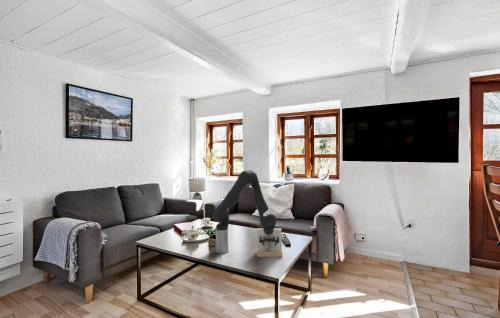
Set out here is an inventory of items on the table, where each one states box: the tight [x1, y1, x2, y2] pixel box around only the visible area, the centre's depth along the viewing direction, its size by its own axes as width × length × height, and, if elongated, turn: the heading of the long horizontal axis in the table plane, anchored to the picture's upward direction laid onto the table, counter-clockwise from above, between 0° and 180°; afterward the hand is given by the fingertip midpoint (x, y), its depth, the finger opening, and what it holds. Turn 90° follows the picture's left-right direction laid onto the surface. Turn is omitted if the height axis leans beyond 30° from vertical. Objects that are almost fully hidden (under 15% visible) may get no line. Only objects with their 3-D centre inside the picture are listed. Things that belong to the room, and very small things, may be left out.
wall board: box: [256, 228, 283, 258], centre depth 183 cm, size 18×8×18 cm, turn 85°
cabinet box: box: [266, 242, 273, 251], centre depth 183 cm, size 5×3×11 cm, turn 86°
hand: (269, 244), depth 184 cm, fingers open, 8 cm apart
